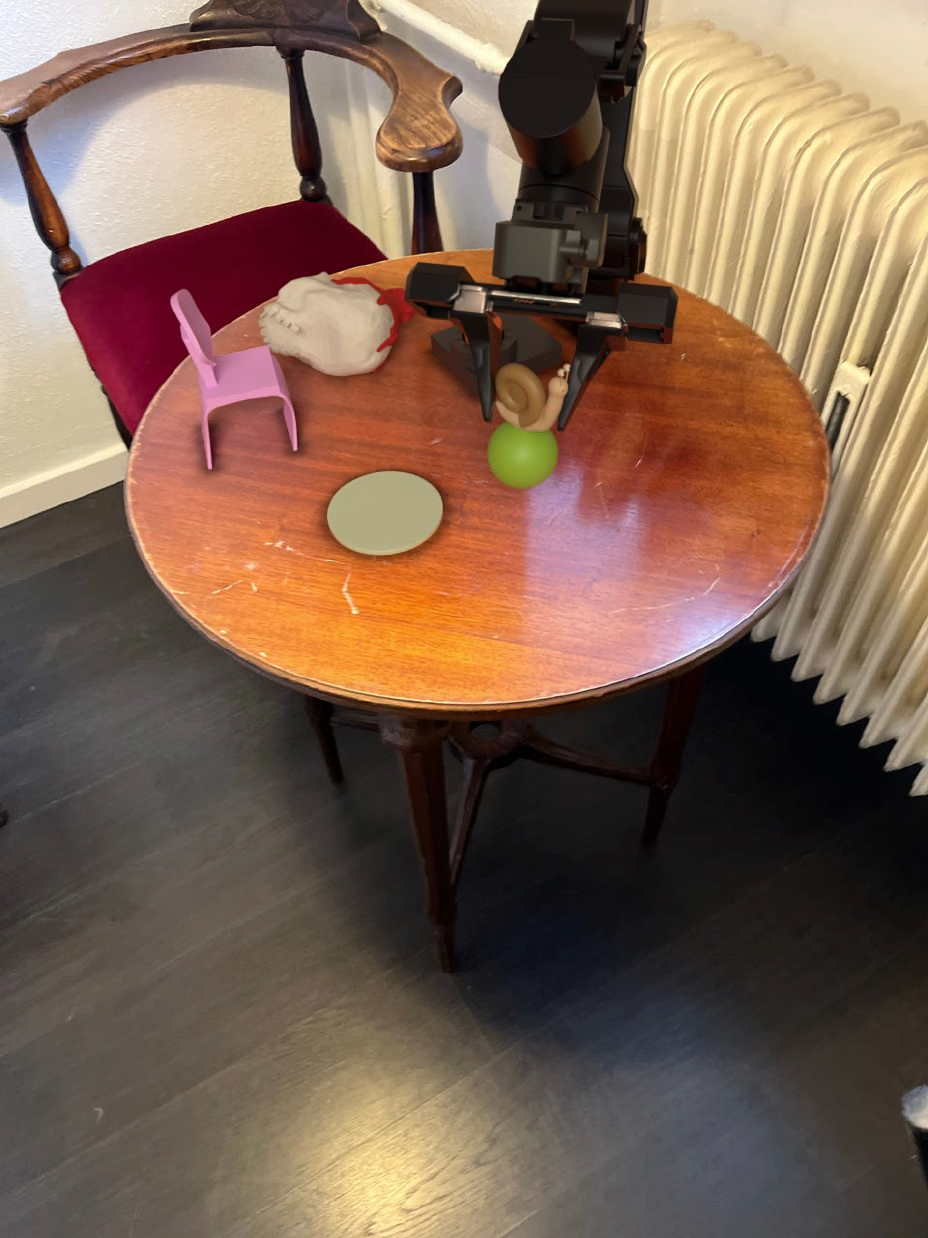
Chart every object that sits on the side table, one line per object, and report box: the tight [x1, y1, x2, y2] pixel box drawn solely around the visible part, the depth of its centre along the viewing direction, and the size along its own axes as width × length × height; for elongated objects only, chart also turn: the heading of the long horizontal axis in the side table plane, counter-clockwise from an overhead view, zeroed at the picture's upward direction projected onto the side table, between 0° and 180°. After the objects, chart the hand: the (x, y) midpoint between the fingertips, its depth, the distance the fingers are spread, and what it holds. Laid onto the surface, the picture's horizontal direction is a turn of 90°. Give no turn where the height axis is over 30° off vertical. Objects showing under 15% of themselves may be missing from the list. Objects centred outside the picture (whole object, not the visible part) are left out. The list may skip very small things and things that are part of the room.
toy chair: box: [170, 288, 298, 470], centre depth 78 cm, size 8×9×15 cm
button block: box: [430, 312, 563, 398], centre depth 89 cm, size 10×9×4 cm
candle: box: [258, 271, 419, 377], centre depth 89 cm, size 9×11×15 cm
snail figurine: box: [486, 363, 572, 490], centre depth 65 cm, size 5×6×12 cm
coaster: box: [326, 470, 444, 556], centre depth 77 cm, size 10×10×1 cm
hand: (523, 426), depth 64 cm, fingers closed on snail figurine, 5 cm apart
